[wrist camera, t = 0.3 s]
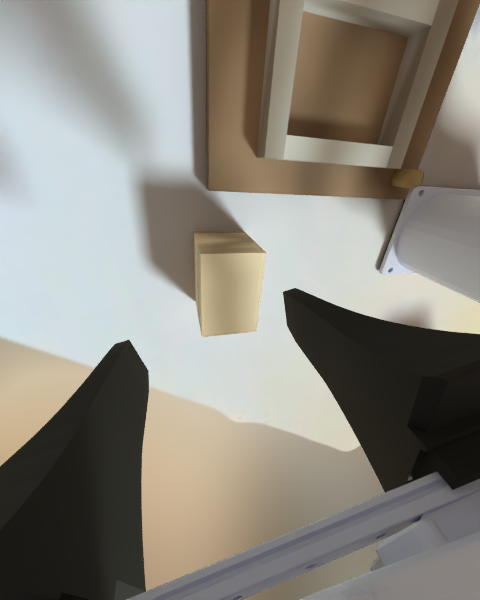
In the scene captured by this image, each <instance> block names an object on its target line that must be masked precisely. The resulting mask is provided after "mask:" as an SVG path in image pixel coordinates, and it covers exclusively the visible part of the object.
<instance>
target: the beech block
mask: <svg viewBox="0 0 480 600" xmlns="http://www.w3.org/2000/svg"><path fill="white" fill-rule="evenodd" d="M265 258H266V252H265V251H264V250H263V249H262V248H261V247H260V246H259V245H258V244H257V243H256V242H255V241H253V240H252V239H251V238H250V237H249V236H248V235H247V234H246V233H245V232H194V264H195V295H196V306H197V312H198V318H199V323H200V329H201V335H202V337H207V336H216V335H226V334H236V333H246V332H255V331H257V324H258V315H259V307H260V299H261V291H262V282H263V274H264V266H265Z"/></svg>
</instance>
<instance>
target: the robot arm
mask: <svg viewBox="0 0 480 600" xmlns="http://www.w3.org/2000/svg"><path fill="white" fill-rule="evenodd" d="M419 192H420V193H419ZM379 272H380V273H381V274H383V275H392V274H412V273H416V274H419V275H421V276H423V277H425V278H427V279H429V280H432V281H434V282H436V283H438V284H440V285H442V286H445V287H447V288H449V289H451V290H453V291H455V292H458V293H460V294H462V295H464V296H466V297H468V298H471V299H473V300H475V301H477V302H479V303H480V190H475V189H459V188H443V187H427V186H418V187H416V188H411V189H410V190H409V193H408V196H407V198H406V200H405V203H404V205H403V208H402V211H401V213H400V216H399V219H398V221H397V224H396V227H395V229H394V232H393V235H392V237H391V240H390V243H389V245H388V248H387V251H386V253H385V256H384V259H383V261H382V264H381V267H380V270H379ZM283 295H284V303H285V311H286V320H287V326H288V328H289V330H290V332H291V334H292V336H293V337H294V339H295V341H296V343H297V344H298V345H299V347H300V348H301V350H302V351H303V352H304V354H305V355H306V357H307V358H308V359H309V361H310V362H311V363H312V365H313V366H314V368H315V369H316V370H317V372H318V373H319V374H320V376H321V377H322V378H323V380H324V381H325V383H326V384H327V386H328V387H329V389H330V391H331V392H332V394H333V396H334V398H335V399H336V401H337V403H338V404H339V406H340V408H341V410H342V411H343V413H344V415H345V417H346V419H347V420H348V422H349V424H350V426H351V428H352V429H353V431H354V433H355V435H356V437H357V439H358V441H359V442H360V444H361V446H362V448H363V450H364V452H365V454H366V455H367V457H368V460H369V462H370V463H371V465H372V467H373V469H374V471H375V473H376V475H377V477H378V479H379V481H380V483H381V485H382V487H383V489H384V491H385V493H383V494H381V495H379V496H376V497H374V498H371V499H369V500H367V501H364V502H362V503H359V504H357V505H354V506H352V507H349V508H347V509H345V510H342V511H340V512H337V513H335V514H333V515H330V516H328V517H325V518H323V519H320V520H318V521H316V522H313V523H311V524H308V525H306V526H304V527H301V528H299V529H296V530H294V531H291V532H289V533H286V534H284V535H282V536H279V537H277V538H275V539H272V540H270V541H267V542H265V543H262V544H260V545H257V546H255V547H253V548H250V549H248V550H245V551H243V552H241V553H238V554H236V555H233V556H231V557H228V558H226V559H224V560H221V561H219V562H216V563H214V564H211V565H209V566H207V567H204V568H202V569H199V570H197V571H194V572H192V573H190V574H187V575H185V576H182V577H180V578H177V579H175V580H173V581H170V582H168V583H165V584H163V585H161V586H158V587H156V588H154V589H151V590H148V591H146V588H145V575H144V558H143V541H142V510H141V468H142V445H143V436H144V428H145V420H146V412H147V403H148V393H149V377H148V370H147V368H146V366H145V365H144V363H143V362H142V360H141V358H140V357H139V355H138V353H137V352H136V350H135V349H134V347H133V345H132V344H131V342H130V340H127V341H124V342H120V343H117V344H115V345H114V346H113V347H112V348H111V349H110V351H109V352H108V353H107V354H106V355H105V357H104V358H103V359H102V360H101V362H100V363H99V364H98V365H97V367H96V368H95V369H94V370H93V372H92V373H91V374H90V375H89V377H88V378H87V379H86V380H85V382H84V383H83V384H82V385H81V386H80V387H79V388H78V390H77V391H76V392H75V393H74V394H73V395H72V397H71V398H70V399H69V400H68V401H67V402H66V403H65V405H64V406H63V407H62V408H61V409H60V410H59V411H58V412H57V413H56V414H55V415H54V416H53V417H52V419H51V420H49V422H48V423H47V424H45V426H44V427H42V428H41V429H40V431H38V433H36V435H34V436H33V437H32V438H31V439H30V440H29V441H28V442H27V443H26V444H25V445H24V446H22V447H21V448H20V449H19V450H18V451H17V452H16V453H15V454H14V455H12V457H10V458H9V459H8V460H7V461H6V462H5V463H4V464H3V465H1V466H0V600H243V599H246V598H248V597H250V596H253V595H255V594H257V593H260V592H262V591H264V590H266V589H269V588H271V587H273V586H276V585H278V584H280V583H283V582H285V581H287V580H290V579H292V578H294V577H296V576H299V575H301V574H303V573H306V572H308V571H310V570H313V569H315V568H317V567H320V566H322V565H324V564H326V563H329V562H331V561H333V560H336V559H338V558H340V557H343V556H345V555H347V554H350V553H352V552H354V551H357V550H359V549H361V548H364V547H366V546H368V545H370V544H372V543H375V542H377V541H380V540H382V539H384V538H386V537H389V536H391V535H393V534H395V535H393V536H392V537H390V538H389V539H387V540H385V541H384V542H382V543H381V544H379V545H377V548H376V552H377V554H378V557H377V558H376V559H375V560H374V562H373V563H372V564H371V568H370V569H371V572H369V573H366V574H364V575H361V576H358V577H355V578H353V579H350V580H347V581H345V582H342V583H340V584H337V585H334V586H332V587H329V588H327V589H324V590H322V591H319V592H316V593H314V594H311V595H309V596H307V597H305V598H302V599H299V600H480V334H470V333H458V332H448V331H441V330H433V329H426V328H420V327H414V326H408V325H403V324H398V323H393V322H389V321H385V320H380V319H377V318H373V317H369V316H366V315H362V314H359V313H356V312H353V311H350V310H347V309H345V308H342V307H339V306H337V305H334V304H331V303H329V302H327V301H324V300H322V299H320V298H317V297H315V296H313V295H310V294H308V293H306V292H304V291H301V290H299V289H296V288H294V289H291V290H288V291H284V292H283ZM396 533H397V534H396Z"/></svg>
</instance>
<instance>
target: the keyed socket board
mask: <svg viewBox="0 0 480 600" xmlns="http://www.w3.org/2000/svg"><path fill="white" fill-rule="evenodd" d="M479 4H480V0H206V109H207V189H208V190H209V191H228V192H250V193H272V194H295V195H317V196H339V197H361V198H384V199H406V198H407V196H408V193H409V190H410V188H416V187H418V186H419V185H420V184H421V182H422V180H423V177H424V173H423V171H422V170H419V169H418V166H419V164H420V161H421V158H422V156H423V153H424V150H425V148H426V145H427V142H428V140H429V137H430V134H431V132H432V129H433V126H434V124H435V121H436V118H437V116H438V113H439V110H440V108H441V105H442V102H443V100H444V97H445V94H446V92H447V89H448V86H449V84H450V81H451V79H452V76H453V73H454V71H455V68H456V65H457V63H458V60H459V57H460V55H461V52H462V49H463V47H464V44H465V41H466V39H467V36H468V33H469V31H470V28H471V25H472V23H473V20H474V17H475V15H476V12H477V9H478V7H479Z"/></svg>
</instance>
